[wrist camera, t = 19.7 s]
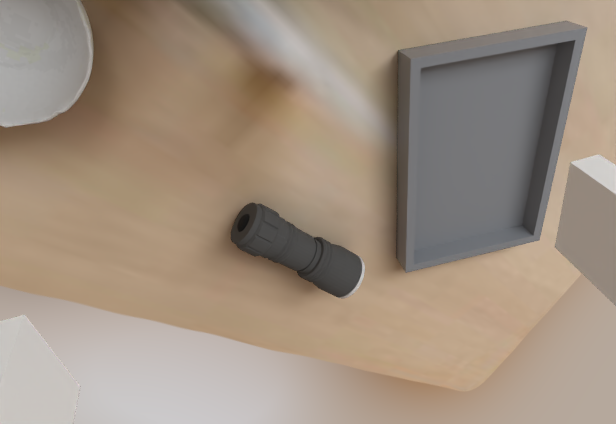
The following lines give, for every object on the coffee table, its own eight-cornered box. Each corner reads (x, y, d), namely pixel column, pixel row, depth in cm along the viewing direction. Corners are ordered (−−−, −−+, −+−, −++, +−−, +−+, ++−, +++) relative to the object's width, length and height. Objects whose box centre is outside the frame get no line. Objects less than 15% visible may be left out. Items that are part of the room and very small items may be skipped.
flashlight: (243, 194, 52) (219, 239, 51) (262, 202, 47) (236, 252, 46) (346, 250, 59) (326, 289, 59) (371, 262, 54) (349, 305, 54)
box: (398, 50, 46) (410, 59, 43) (566, 20, 48) (587, 27, 46) (396, 257, 61) (405, 272, 58) (525, 226, 63) (539, 240, 61)
